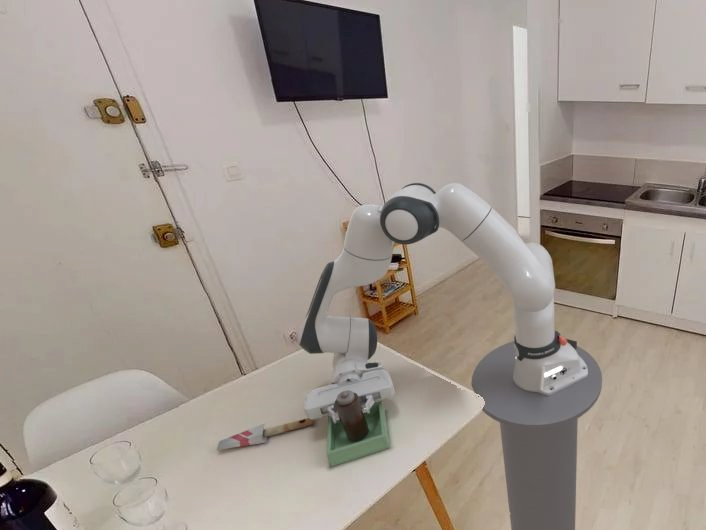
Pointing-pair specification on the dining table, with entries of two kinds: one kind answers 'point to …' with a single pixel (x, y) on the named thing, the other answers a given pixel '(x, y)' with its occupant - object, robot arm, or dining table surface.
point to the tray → (348, 450)
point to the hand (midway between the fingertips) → (351, 416)
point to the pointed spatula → (260, 434)
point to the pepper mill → (351, 415)
